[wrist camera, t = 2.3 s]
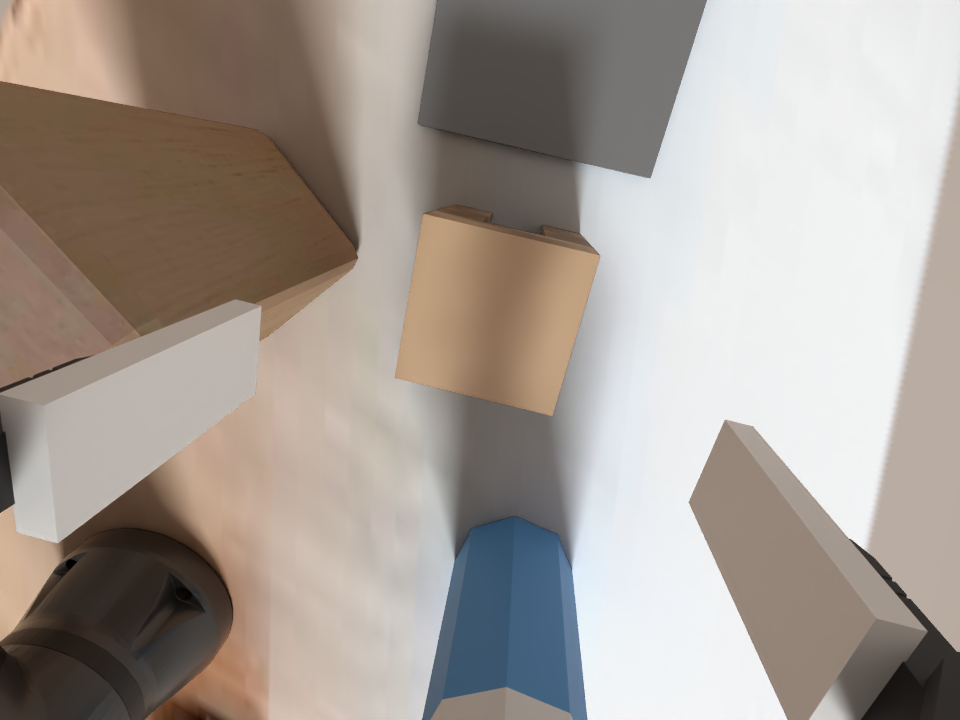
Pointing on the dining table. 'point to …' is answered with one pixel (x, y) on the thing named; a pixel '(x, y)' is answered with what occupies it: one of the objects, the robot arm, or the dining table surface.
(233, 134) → the wooden block
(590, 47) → the mat
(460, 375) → the notched wood piece
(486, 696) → the water bottle
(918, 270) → the dining table surface
